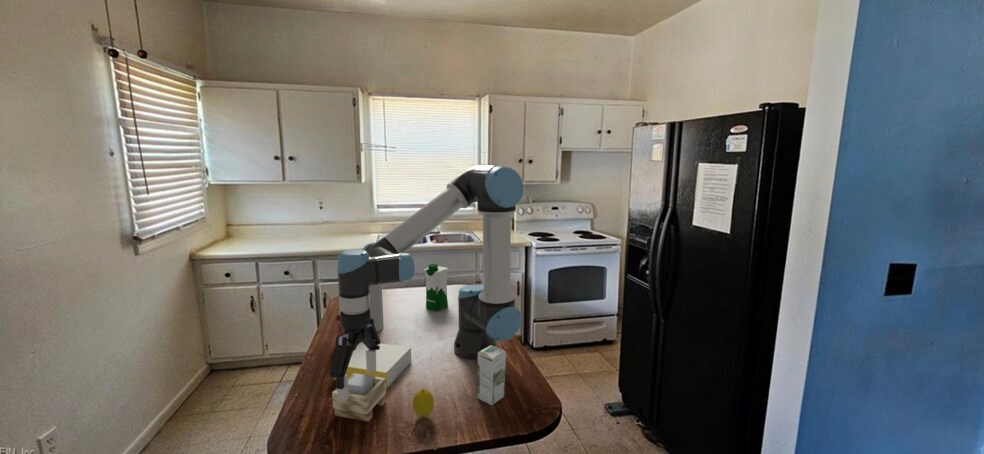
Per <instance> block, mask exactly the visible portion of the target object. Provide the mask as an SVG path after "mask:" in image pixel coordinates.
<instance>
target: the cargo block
mask: <svg viewBox="0 0 984 454" xmlns="http://www.w3.org/2000/svg"><path fill="white" fill-rule="evenodd" d="M372 388H373V377H372V376H365V375H359V374H356V375H355V376H354V377H353V378H352V379H350V380H349V381H348V393H351V394H357V395H363V396H365V395H366V394H367V393H368V392H369V391H370V390H371V389H372Z"/></svg>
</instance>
